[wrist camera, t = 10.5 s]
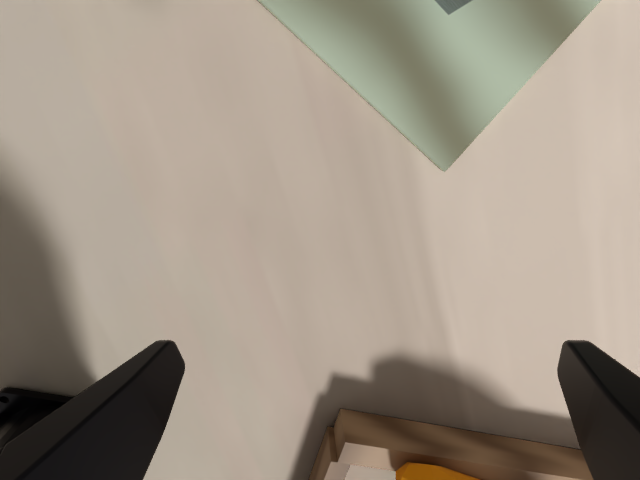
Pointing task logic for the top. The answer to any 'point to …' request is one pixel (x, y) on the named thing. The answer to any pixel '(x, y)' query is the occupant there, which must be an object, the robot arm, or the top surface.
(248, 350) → the top surface
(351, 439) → the cob rest
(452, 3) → the bar
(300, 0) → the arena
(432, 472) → the corn
